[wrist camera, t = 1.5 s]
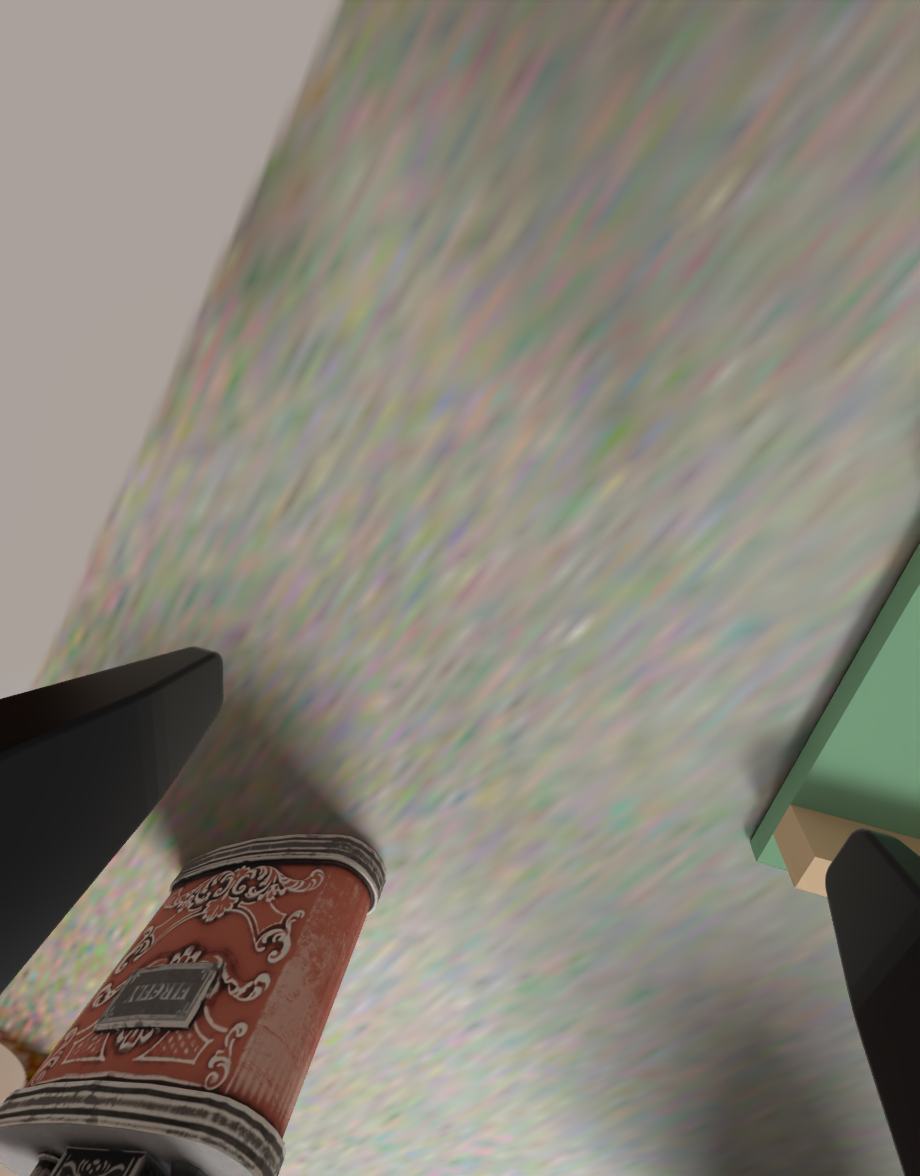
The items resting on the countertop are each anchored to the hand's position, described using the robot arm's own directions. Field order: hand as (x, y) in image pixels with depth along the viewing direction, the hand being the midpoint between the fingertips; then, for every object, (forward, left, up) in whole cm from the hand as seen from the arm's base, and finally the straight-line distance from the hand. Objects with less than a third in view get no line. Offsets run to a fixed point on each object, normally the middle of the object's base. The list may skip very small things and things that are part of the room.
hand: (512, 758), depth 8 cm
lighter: (-12, +6, -6) cm, 15 cm away
